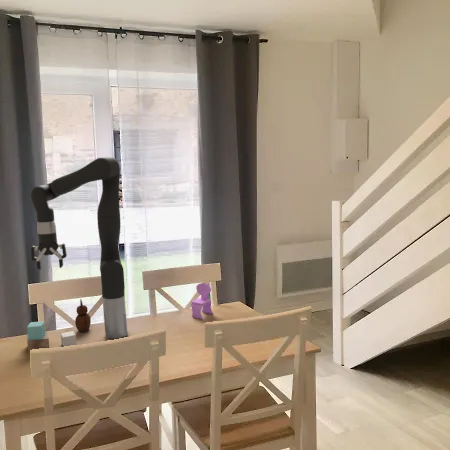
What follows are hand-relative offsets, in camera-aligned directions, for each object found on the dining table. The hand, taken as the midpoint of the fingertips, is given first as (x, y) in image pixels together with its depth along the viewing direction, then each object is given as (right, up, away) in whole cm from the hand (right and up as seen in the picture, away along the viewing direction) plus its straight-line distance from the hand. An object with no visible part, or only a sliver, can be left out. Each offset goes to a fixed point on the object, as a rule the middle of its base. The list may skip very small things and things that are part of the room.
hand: (50, 268), depth 226 cm
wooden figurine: (+14, -28, +3) cm, 31 cm away
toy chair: (+65, -24, +17) cm, 71 cm away
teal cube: (0, -26, -16) cm, 31 cm away
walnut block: (0, -31, -14) cm, 34 cm away
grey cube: (+12, -30, -13) cm, 35 cm away
